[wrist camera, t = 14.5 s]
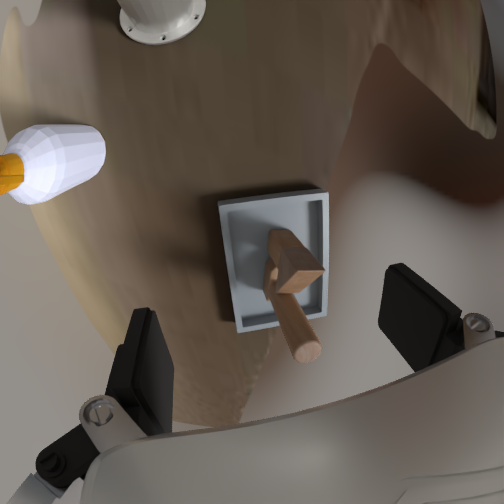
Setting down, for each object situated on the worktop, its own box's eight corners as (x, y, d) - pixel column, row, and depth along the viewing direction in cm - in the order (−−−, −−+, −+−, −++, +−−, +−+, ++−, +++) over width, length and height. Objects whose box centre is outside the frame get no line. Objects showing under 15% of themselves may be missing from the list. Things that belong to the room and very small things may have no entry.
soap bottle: (110, 181, 38) (25, 236, 17) (57, 181, 36) (-44, 233, 15) (113, 123, 35) (21, 119, 13) (59, 126, 33) (-50, 136, 12)
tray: (217, 201, 42) (218, 205, 40) (320, 188, 44) (328, 192, 41) (235, 322, 51) (237, 333, 48) (320, 306, 53) (326, 315, 50)
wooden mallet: (291, 229, 45) (340, 286, 29) (283, 290, 49) (319, 363, 33) (268, 228, 44) (307, 287, 28) (261, 290, 48) (290, 366, 32)
